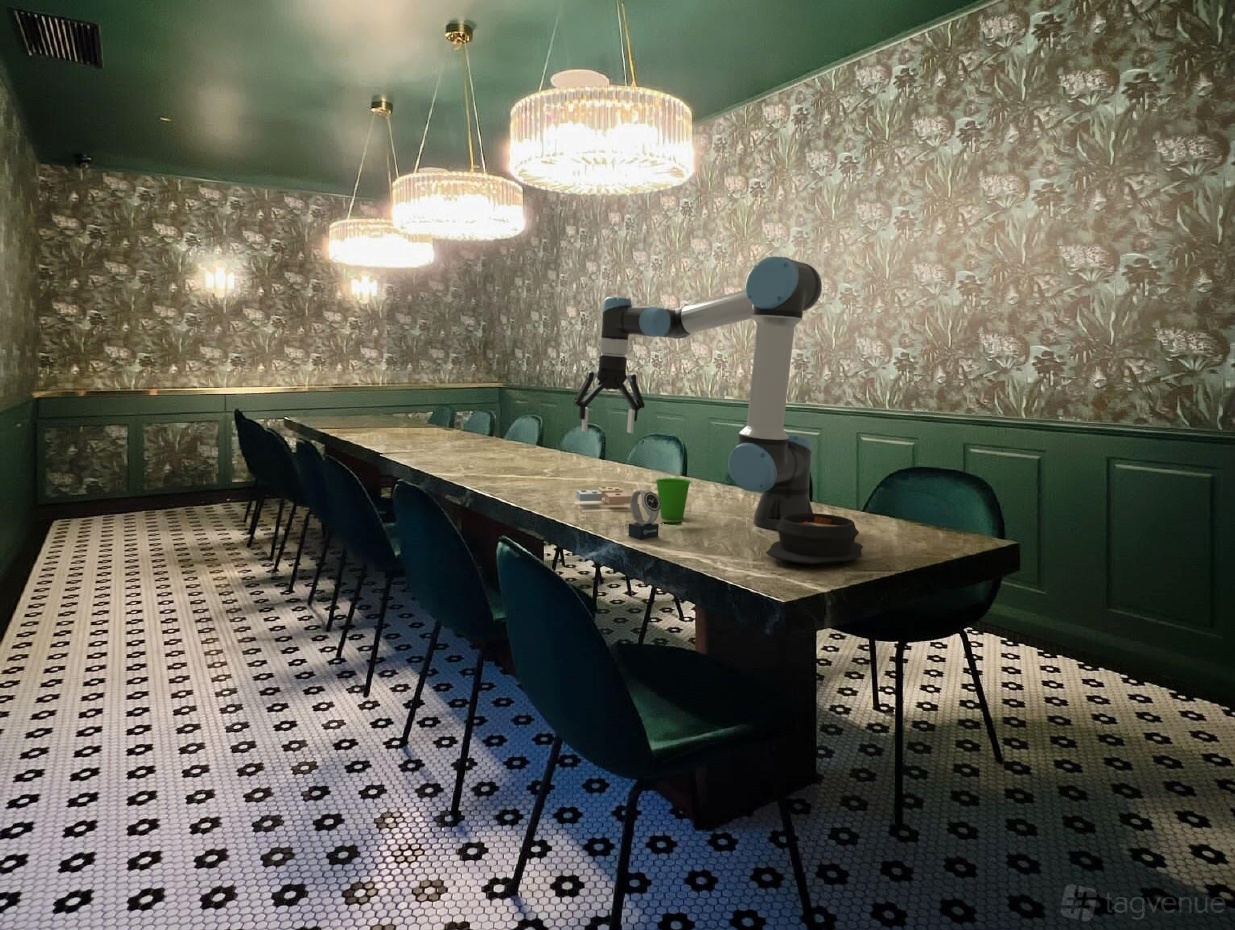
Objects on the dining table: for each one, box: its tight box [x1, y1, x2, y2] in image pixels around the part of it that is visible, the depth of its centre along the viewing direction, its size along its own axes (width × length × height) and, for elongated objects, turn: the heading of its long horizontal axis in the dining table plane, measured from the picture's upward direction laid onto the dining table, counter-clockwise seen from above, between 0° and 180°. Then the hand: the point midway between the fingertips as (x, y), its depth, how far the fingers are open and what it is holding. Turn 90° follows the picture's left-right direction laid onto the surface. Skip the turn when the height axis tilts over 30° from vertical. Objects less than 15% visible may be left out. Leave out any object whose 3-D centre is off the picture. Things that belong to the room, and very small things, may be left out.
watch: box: [628, 489, 661, 541], centre depth 175 cm, size 6×8×11 cm
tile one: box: [604, 492, 632, 504], centre depth 204 cm, size 6×6×2 cm
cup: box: [654, 477, 692, 526], centre depth 191 cm, size 9×9×11 cm
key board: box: [571, 498, 631, 513], centre depth 208 cm, size 19×15×2 cm
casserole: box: [765, 512, 864, 565], centre depth 158 cm, size 25×19×8 cm
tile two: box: [576, 489, 603, 501], centre depth 207 cm, size 6×6×2 cm
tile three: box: [597, 486, 624, 499], centre depth 213 cm, size 6×6×2 cm
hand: (607, 432), depth 209 cm, fingers open, 13 cm apart
